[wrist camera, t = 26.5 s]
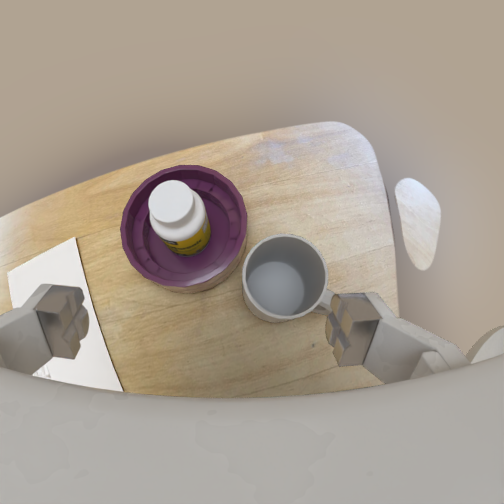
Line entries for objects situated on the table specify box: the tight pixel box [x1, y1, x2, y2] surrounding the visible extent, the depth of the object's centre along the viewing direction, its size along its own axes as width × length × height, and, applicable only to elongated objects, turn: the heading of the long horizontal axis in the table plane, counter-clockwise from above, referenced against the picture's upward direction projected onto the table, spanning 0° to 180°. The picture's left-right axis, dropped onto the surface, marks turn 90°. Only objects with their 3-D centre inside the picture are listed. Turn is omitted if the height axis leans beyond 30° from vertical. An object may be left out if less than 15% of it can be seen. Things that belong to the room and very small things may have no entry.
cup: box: [242, 234, 335, 323], centre depth 29 cm, size 7×10×9 cm
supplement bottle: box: [148, 180, 211, 257], centre depth 30 cm, size 5×5×10 cm
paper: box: [7, 237, 123, 392], centre depth 30 cm, size 25×17×1 cm
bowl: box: [120, 165, 247, 293], centre depth 33 cm, size 13×13×5 cm
